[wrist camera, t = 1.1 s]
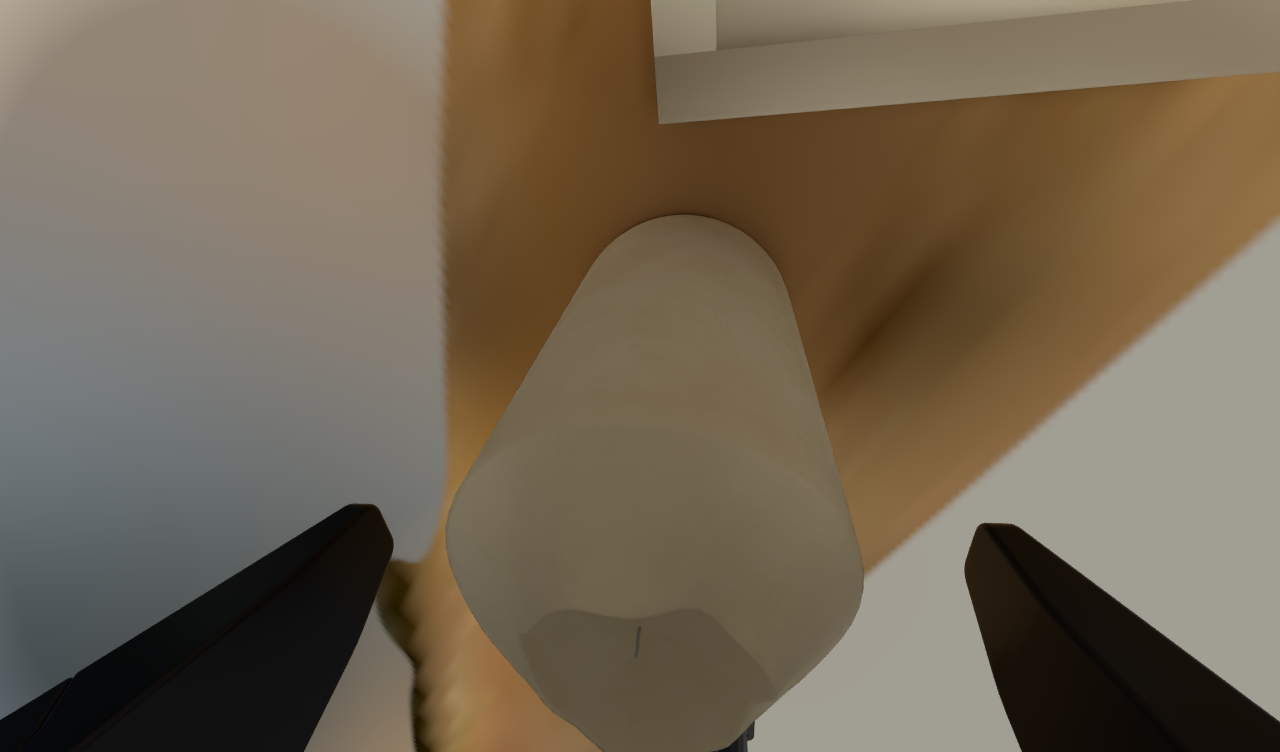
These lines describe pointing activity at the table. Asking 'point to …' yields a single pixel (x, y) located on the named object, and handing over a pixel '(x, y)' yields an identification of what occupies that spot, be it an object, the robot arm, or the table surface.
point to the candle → (662, 500)
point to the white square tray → (939, 50)
